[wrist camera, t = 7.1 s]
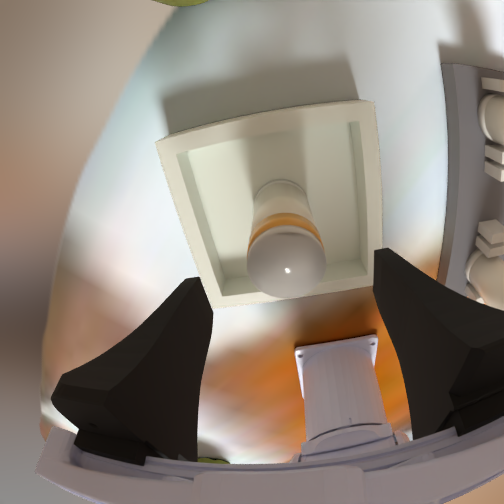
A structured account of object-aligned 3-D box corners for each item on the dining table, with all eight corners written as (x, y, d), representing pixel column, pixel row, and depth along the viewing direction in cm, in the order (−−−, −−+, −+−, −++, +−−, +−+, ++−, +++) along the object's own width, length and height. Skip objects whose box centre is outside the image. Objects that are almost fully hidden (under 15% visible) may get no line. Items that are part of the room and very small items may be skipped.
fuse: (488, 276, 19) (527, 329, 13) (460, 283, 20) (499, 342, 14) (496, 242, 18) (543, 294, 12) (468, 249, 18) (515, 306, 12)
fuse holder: (489, 278, 21) (506, 300, 18) (434, 292, 22) (449, 319, 19) (506, 74, 12) (536, 78, 9) (440, 63, 13) (470, 63, 10)
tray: (370, 263, 21) (380, 284, 19) (217, 286, 23) (212, 308, 21) (359, 99, 15) (374, 101, 13) (169, 134, 17) (154, 142, 15)
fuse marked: (312, 224, 19) (330, 291, 13) (260, 233, 20) (256, 303, 14) (303, 173, 17) (322, 224, 11) (247, 184, 18) (236, 239, 12)
